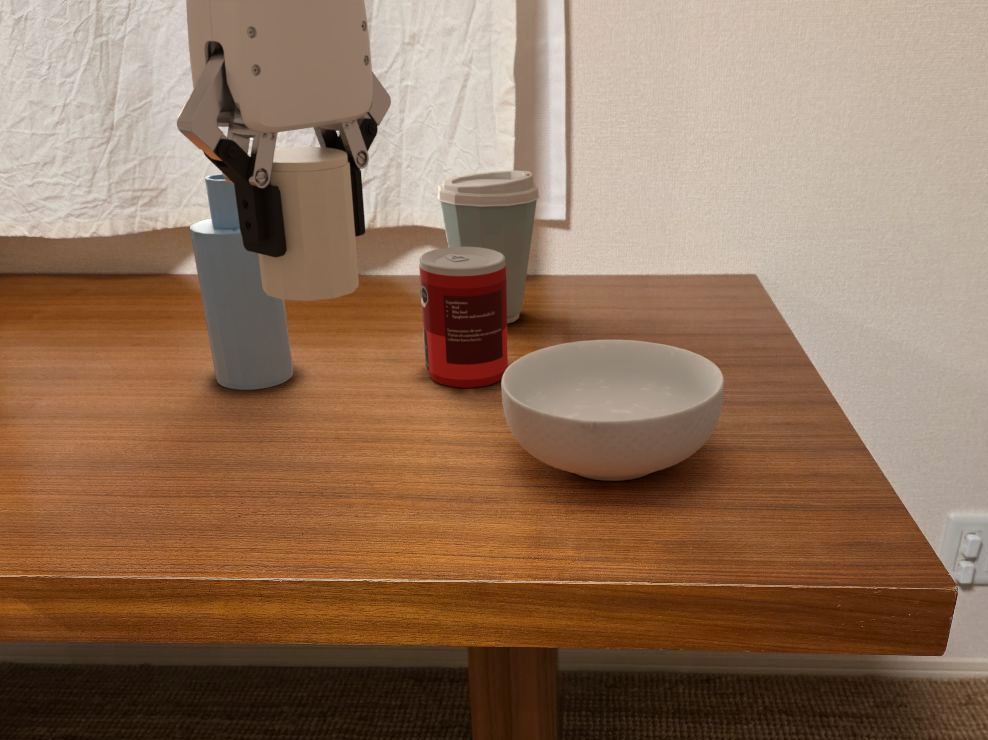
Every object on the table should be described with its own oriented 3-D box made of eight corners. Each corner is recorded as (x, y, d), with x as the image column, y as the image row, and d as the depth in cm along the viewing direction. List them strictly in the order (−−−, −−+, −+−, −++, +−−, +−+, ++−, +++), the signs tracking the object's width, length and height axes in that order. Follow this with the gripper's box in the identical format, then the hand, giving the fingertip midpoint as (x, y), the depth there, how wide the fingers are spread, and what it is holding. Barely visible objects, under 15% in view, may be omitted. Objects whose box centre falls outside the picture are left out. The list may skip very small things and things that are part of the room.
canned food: (460, 354, 100) (455, 242, 94) (525, 370, 96) (523, 254, 90) (408, 377, 95) (399, 259, 89) (475, 395, 91) (470, 273, 85)
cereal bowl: (569, 402, 89) (570, 325, 85) (748, 442, 82) (758, 359, 78) (460, 476, 76) (456, 389, 73) (660, 531, 69) (666, 437, 65)
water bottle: (250, 395, 91) (217, 188, 82) (201, 379, 94) (164, 178, 85) (308, 373, 96) (283, 174, 87) (259, 358, 99) (230, 166, 90)
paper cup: (308, 306, 60) (294, 166, 56) (244, 289, 63) (226, 155, 59) (376, 285, 65) (367, 153, 61) (313, 270, 67) (300, 143, 63)
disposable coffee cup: (433, 331, 106) (424, 182, 99) (452, 301, 116) (446, 163, 108) (533, 334, 105) (532, 184, 98) (544, 303, 114) (544, 165, 107)
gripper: (339, -94, 61) (361, 211, 71) (83, -109, 49) (150, 261, 58) (432, -95, 58) (443, 226, 67) (180, -113, 46) (235, 283, 55)
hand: (306, 239), depth 62 cm, fingers closed on paper cup, 5 cm apart
